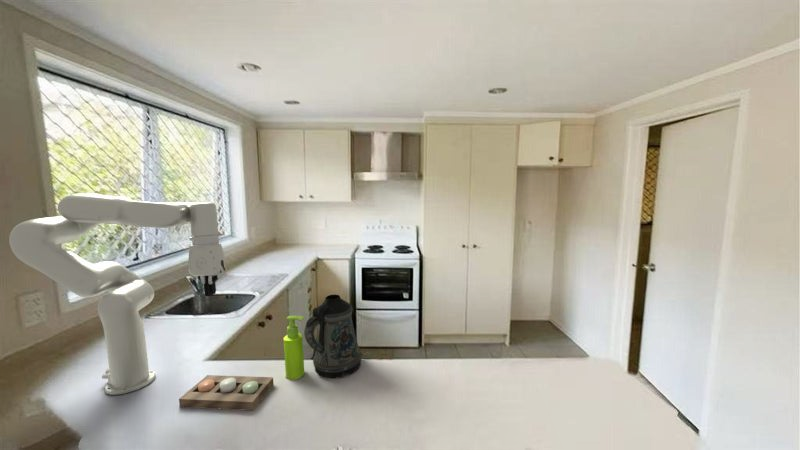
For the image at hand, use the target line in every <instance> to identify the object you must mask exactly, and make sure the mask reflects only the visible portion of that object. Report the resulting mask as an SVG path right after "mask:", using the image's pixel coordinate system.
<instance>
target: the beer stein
mask: <svg viewBox="0 0 800 450" xmlns="http://www.w3.org/2000/svg"><path fill="white" fill-rule="evenodd" d="M324 298H325V299H324V301H323V302H322V303H321V304H320V305H319V306H316V307H314V308H313V309H312V316H311V317H309V318H308V320H307V321H306V322H305V327H304V333H303V334H304V339H305V341H306V343H307V345H308V346H310V347H309V348H311V349H312V350H314V351H315V354H314V356H313V359H312V364H313V367H314V371H315V373H316V374H317V375H318V376H319V377H322V378H325V379H331V380H332V379H341V378H347V377H349V376H351V375H353V374H355V373H356V372H357V371H358V370H359V369H360V367H361V361H362V357H363V356H362V355H363V354H362V351H361V349H360V347H359V343H358V340H357V337H356V332H355V327H354V323H353V319H352V314H353V306H352V305H351V304H350V303H349V301H348V302H347V300H344V299H343V298H342V297H341V296H340V295H339V294H329V295H326V296H325V297H324ZM316 327H317V330H316V334H317V335H316V337H315V329H316Z"/></svg>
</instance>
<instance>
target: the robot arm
mask: <svg viewBox="0 0 800 450" xmlns="http://www.w3.org/2000/svg"><path fill="white" fill-rule="evenodd" d="M57 211H58V213H59V215H60V216H49V217H40V218H33V219H28V220H25V221H23V222H20V223H18V224H17V225H15V226H14V227H13V228H12V230H10V234H9V237H8V238H9V239H8V242H9V246H10V249H11V251H12V253H13V254H14V256H15V257H16V258H17V259H18V260H20V261H21V262H22V263H24V264H25V265H27V266H29V267H30V268H33V269H34V270H36V271H38V272H40V273H42V274H44V275H45V276H47V277H48V278H50V280H53V281H54V282H56V283H57V284H59V285H61V286H62V287H64V288H65V289H66V290H68V291H70V292H71V293H74V294H75V295H77V296H79V297H82V298H84V299H85V298H93V297H96V296H99V295H101V294H103V293H105V292H107V293H105V294H104V295H103V296H102V297H101V298H100V300H99V301H98V303H97V304H98V305H97V313H98V317H99V318H100V322H101V324H102V329H103V333H104V338H105V339H104V340H105V345H106V354H107V360H108V368H107V369H106V370H105V372H104V374H102V375H101V379H104V380H106V379H107V381H108V382H107V384H106V385H105V387H104V392H105V394H107V395H111V396H112V395H113V396H118V395H124V394H129V393H132V392H134V391H137V390H140V389H142V388H144V387H146V386H147V385H149V384H150V383H152V382H153V381H154V380H155V378H156V371H155V370H152V369H149V367H150V366H149V359H148V350H147V340H146V334H145V333H146V332H145V326H144V322H143V319H142V318H141V316H140V314H139V313H140V312H139V311H140V310H142V309H143V308H145V307H146V306H148V305H149V304H150V303H151V302H152V301H153V300H154V297H155V290H154V288H153V286H152V284H150V283H149V282H148V281H147V280H146V279H144V278H142V277H141V276H139V275H138V274H136V273H135V272H134V271H132V270H130V269H129V268H127V267H125V266H124V265H123V264H121V263H118V262H115V261H109V260H108V261H107V260H105V261H100V262H99V261H98V262H96V263H91V262H89V261H88V260H86V259H84V258H82V257H81V256H80V255H78V254H76V253H75V252H72V251H70V250H68V249H64V248H61V247H60V246H58V245H62V244H66V243H71V242H74V241H76V240H78V239H80V238H82V237H83V236H85V235H86V234H88V233H89V232H90V231H91V230H93V229H94V228H96V227H97V226H99V225H100V224H105V225H106V224H107V225H122V226H132V227H138V228H140V227H141V228H154V229H155V228H156V229H172V228H175V227H179V226H185V225H190V233H191V236H190V237H189V241H190V242H191V243H192V244H191V245H189V250H188V272H189V275H191V276H192V278H195V279H198V280H199V281H200V283H201V285H203V290H204V291H203V293H204V296H205V297H211V296H214V295H215V294H216V293H217V287H216V286H217V285H216V282H218V280H219V279H222V278H224V277H226V274H225V272H226V258H225V254H224V248H223V246H222V243H220V238H219V237H220V236H219V235H220V234H219V225H218V214H217V211H218V210H217V206H216V203H214V202H212V201H211V202H210V201H207V202H206V201H202V202H201V201H199V202H185V201H184V202H183V201H176V202H174V201H173V202H151V201H139V200H133V199H131V198H130V197H128V196H127V197H126V196H116V195H115V196H114V195H113V196H112V195H103V194H100V193H74V194H73V193H72V194H69V195H66V196H65V197H63V198H62V199H60V201H59V202H58V204H57Z"/></svg>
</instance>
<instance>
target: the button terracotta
mask: <svg viewBox="0 0 800 450" xmlns="http://www.w3.org/2000/svg"><path fill="white" fill-rule="evenodd" d="M214 387H215V385H214V380H205V381H203V382H201V383H200V384H199V385H198V391H199V392H210V391H211V390H212V389H213V388H214Z"/></svg>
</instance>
